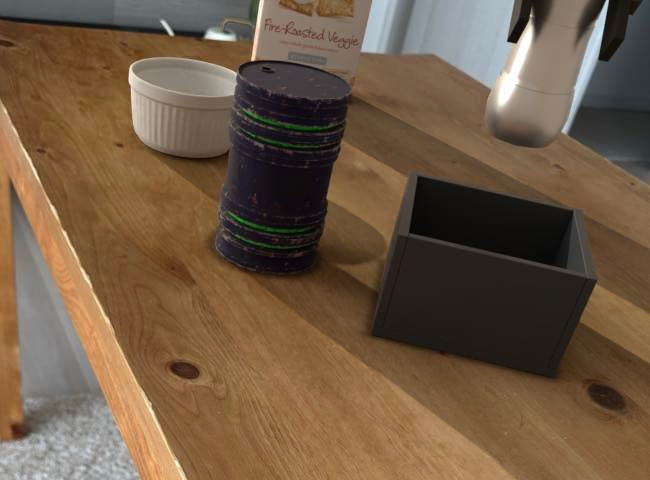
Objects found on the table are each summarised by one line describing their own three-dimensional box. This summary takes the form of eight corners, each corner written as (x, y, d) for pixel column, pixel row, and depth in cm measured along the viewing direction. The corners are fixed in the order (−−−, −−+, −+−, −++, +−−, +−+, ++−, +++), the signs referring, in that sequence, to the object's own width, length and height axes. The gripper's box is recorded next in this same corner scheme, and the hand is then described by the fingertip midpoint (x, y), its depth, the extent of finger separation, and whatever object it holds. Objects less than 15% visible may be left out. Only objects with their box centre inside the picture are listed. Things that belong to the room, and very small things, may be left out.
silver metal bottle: (460, 132, 71) (556, -182, 58) (509, 124, 75) (610, -173, 61) (522, 162, 68) (639, -163, 54) (571, 153, 72) (692, -155, 58)
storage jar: (336, 254, 84) (374, 86, 74) (282, 286, 77) (316, 107, 67) (251, 217, 87) (276, 53, 77) (192, 245, 81) (211, 70, 71)
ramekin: (102, 126, 99) (104, 59, 95) (191, 114, 107) (198, 52, 102) (174, 171, 93) (180, 101, 88) (264, 155, 100) (274, 90, 96)
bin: (544, 299, 83) (582, 209, 77) (553, 377, 73) (598, 280, 67) (384, 262, 84) (409, 170, 78) (370, 334, 73) (398, 234, 67)
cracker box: (250, 89, 118) (276, -100, 103) (248, 75, 122) (273, -108, 108) (351, 104, 119) (391, -80, 105) (346, 90, 124) (383, -88, 110)
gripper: (718, -191, 68) (668, 95, 67) (477, -240, 68) (422, 46, 67) (779, -286, 60) (723, 34, 59) (507, -342, 60) (447, -21, 59)
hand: (564, 40), depth 63 cm, fingers closed on silver metal bottle, 6 cm apart
